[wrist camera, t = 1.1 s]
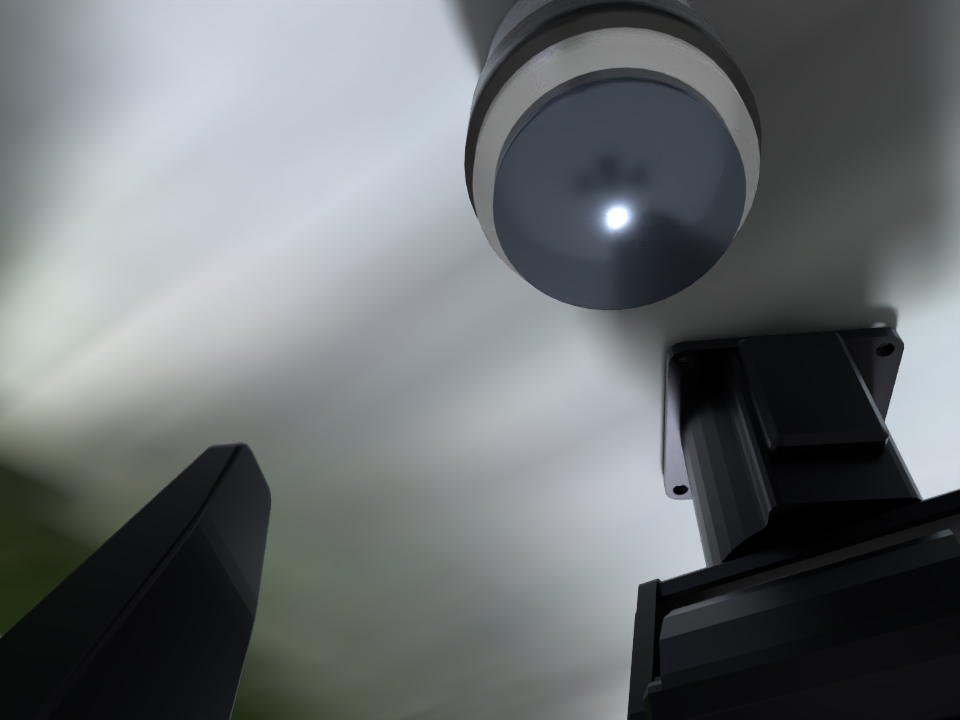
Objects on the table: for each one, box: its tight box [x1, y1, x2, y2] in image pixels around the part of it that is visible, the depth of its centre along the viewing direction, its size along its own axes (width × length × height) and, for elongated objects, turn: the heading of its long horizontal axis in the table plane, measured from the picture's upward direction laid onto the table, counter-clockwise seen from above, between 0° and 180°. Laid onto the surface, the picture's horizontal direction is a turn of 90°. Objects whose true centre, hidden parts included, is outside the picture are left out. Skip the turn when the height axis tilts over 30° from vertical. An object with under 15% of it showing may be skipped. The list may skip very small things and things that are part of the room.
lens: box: [464, 0, 761, 310], centre depth 16 cm, size 6×6×6 cm
